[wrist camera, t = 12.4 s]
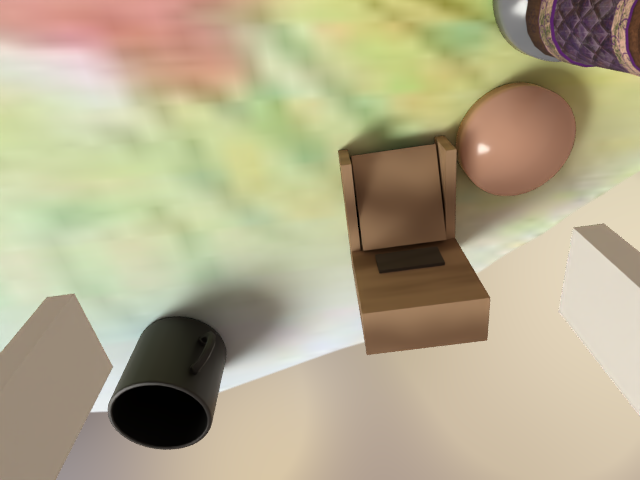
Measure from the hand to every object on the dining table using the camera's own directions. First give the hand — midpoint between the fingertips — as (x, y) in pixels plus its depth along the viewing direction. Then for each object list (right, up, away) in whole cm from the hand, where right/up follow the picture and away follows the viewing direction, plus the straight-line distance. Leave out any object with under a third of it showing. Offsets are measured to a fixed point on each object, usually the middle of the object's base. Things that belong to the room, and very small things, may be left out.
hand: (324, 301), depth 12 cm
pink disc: (+16, +10, +25) cm, 32 cm away
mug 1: (-14, -9, +36) cm, 40 cm away
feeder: (+7, +5, +28) cm, 29 cm away
